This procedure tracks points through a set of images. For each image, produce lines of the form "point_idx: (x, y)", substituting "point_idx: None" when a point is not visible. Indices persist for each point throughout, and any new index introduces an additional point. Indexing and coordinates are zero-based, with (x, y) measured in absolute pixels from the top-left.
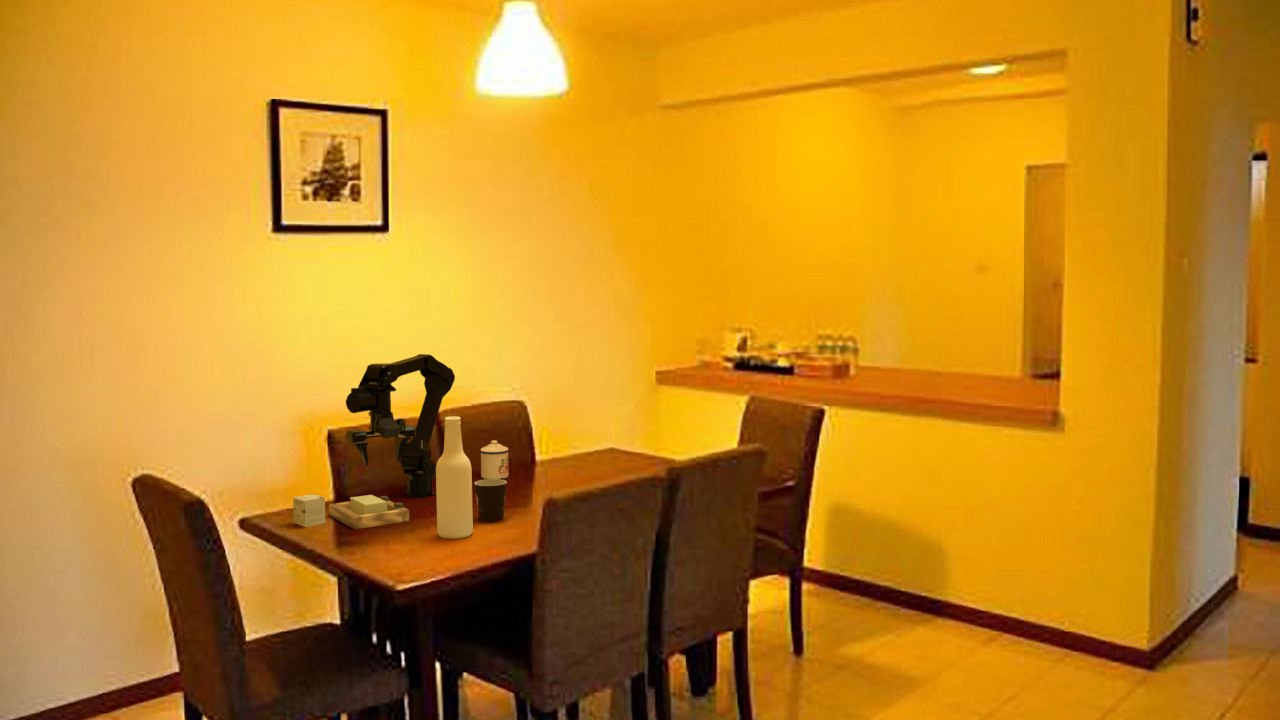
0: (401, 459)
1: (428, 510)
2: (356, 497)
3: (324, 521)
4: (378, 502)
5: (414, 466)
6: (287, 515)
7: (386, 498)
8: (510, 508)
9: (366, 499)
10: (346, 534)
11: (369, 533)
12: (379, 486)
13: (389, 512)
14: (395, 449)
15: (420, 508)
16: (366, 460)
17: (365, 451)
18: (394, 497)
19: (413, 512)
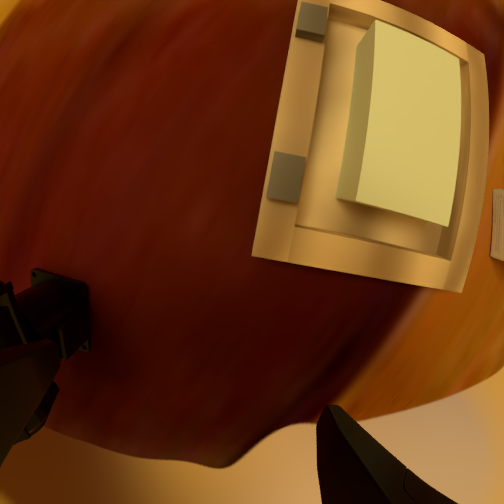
0: (34, 416)
1: (152, 73)
2: (432, 205)
3: (499, 189)
4: (407, 41)
5: (7, 326)
6: (477, 354)
7: (287, 153)
8: (33, 5)
9: (424, 128)
10: (486, 53)
11: (444, 10)
12: (126, 454)
13: (378, 1)
14: (13, 433)
15: (151, 119)
16: (353, 431)
17: (406, 496)
18: (134, 347)
19: (209, 79)
